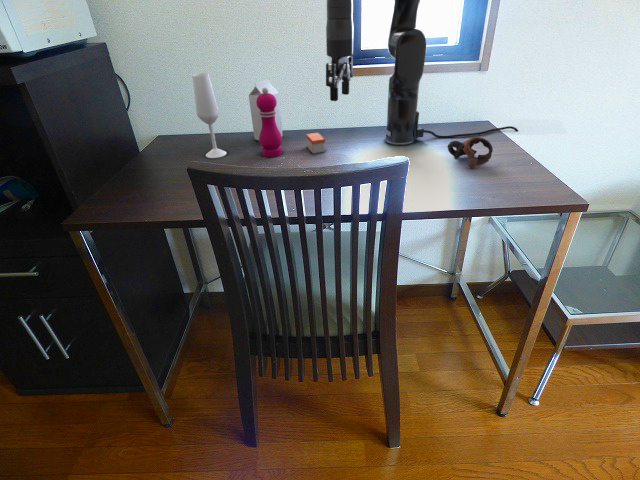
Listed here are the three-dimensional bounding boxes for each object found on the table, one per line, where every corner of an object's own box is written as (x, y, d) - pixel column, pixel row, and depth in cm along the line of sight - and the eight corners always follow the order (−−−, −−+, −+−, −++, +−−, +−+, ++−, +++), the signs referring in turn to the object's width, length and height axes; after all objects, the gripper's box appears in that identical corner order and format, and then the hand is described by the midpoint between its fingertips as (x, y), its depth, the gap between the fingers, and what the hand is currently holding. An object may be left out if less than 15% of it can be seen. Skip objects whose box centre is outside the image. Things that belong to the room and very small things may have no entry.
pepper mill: (279, 158, 119) (272, 90, 108) (257, 157, 121) (248, 90, 110) (286, 149, 125) (280, 85, 114) (265, 149, 126) (257, 85, 115)
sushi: (318, 144, 128) (317, 132, 126) (325, 152, 122) (324, 139, 120) (306, 146, 127) (306, 134, 125) (313, 153, 121) (312, 140, 119)
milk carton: (282, 136, 136) (277, 79, 126) (270, 143, 131) (263, 84, 121) (267, 134, 139) (260, 78, 129) (254, 140, 134) (246, 82, 124)
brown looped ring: (482, 157, 115) (496, 138, 108) (480, 181, 111) (494, 163, 103) (443, 145, 115) (455, 126, 108) (439, 169, 111) (451, 151, 104)
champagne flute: (230, 153, 124) (217, 73, 111) (213, 159, 120) (196, 77, 107) (218, 148, 128) (204, 71, 115) (201, 154, 124) (184, 75, 111)
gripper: (342, 40, 100) (342, 104, 109) (361, 34, 111) (360, 93, 120) (316, 39, 103) (318, 102, 112) (337, 34, 114) (338, 91, 123)
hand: (340, 97), depth 116 cm, fingers open, 8 cm apart
